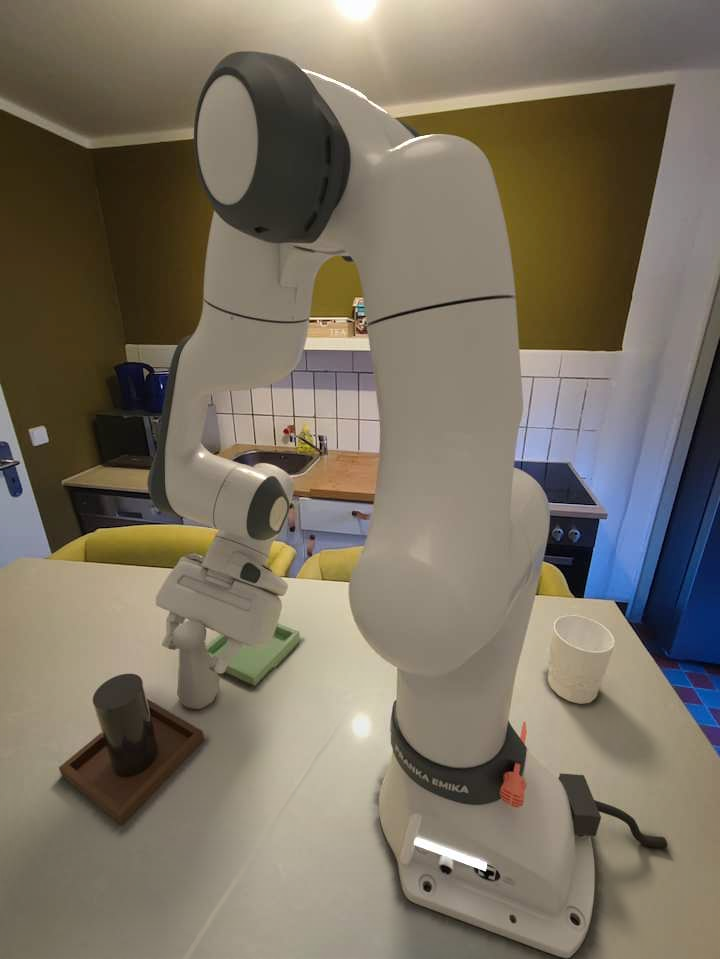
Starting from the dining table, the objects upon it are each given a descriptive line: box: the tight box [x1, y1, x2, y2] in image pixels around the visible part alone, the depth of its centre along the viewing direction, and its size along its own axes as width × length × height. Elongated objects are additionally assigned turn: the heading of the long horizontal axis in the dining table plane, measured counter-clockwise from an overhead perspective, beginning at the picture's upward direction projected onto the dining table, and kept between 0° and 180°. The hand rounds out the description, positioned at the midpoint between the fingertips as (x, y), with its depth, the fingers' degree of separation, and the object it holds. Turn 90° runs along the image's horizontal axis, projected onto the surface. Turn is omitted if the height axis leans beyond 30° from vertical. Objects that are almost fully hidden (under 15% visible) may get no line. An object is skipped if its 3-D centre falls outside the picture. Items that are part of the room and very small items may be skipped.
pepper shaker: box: [92, 673, 158, 777], centre depth 52 cm, size 5×5×11 cm
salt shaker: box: [173, 620, 220, 710], centre depth 61 cm, size 6×6×13 cm
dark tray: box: [58, 698, 205, 826], centre depth 54 cm, size 12×12×2 cm
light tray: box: [206, 622, 301, 687], centre depth 72 cm, size 12×12×2 cm
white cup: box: [547, 614, 616, 705], centre depth 63 cm, size 8×8×10 cm
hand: (191, 659), depth 60 cm, fingers open, 8 cm apart
